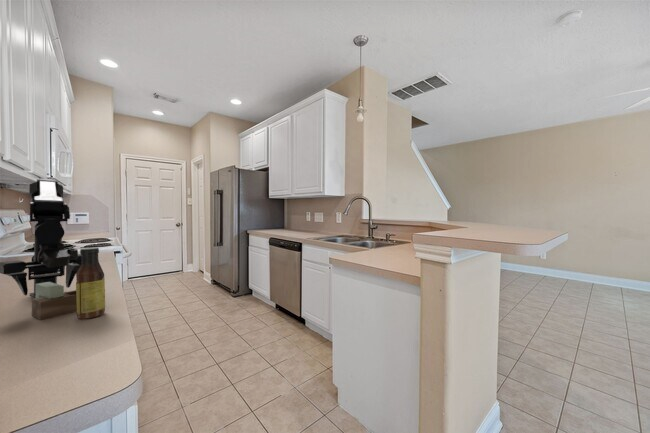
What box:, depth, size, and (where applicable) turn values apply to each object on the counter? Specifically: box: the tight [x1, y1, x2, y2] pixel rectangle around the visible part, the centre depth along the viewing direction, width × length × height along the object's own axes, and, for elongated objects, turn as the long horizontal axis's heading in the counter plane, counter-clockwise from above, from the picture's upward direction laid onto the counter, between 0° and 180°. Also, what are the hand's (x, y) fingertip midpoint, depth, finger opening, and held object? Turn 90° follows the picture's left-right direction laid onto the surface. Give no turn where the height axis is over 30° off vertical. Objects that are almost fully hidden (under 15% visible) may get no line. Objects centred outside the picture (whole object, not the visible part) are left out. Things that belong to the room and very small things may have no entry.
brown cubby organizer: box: [31, 289, 77, 321], centre depth 79 cm, size 6×12×5 cm, turn 154°
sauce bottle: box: [75, 247, 106, 320], centre depth 76 cm, size 6×6×20 cm
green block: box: [35, 282, 65, 299], centre depth 79 cm, size 10×3×8 cm, turn 64°
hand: (47, 291), depth 79 cm, fingers open, 9 cm apart
